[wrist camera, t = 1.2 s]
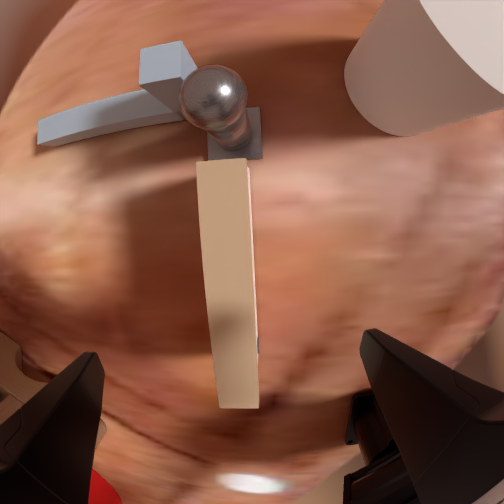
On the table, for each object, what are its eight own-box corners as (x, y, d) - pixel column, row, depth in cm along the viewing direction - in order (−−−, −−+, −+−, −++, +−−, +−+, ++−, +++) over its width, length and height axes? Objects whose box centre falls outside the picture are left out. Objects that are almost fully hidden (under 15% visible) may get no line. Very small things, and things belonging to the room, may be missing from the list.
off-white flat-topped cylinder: (455, 102, 18) (559, 64, 6) (397, 158, 19) (513, 137, 7) (388, 25, 17) (457, -59, 5) (321, 72, 18) (371, -30, 6)
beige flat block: (218, 171, 20) (195, 161, 13) (252, 169, 19) (245, 157, 13) (231, 350, 22) (219, 408, 15) (260, 350, 22) (258, 408, 15)
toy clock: (106, 505, 22) (115, 546, 26) (121, 473, 28) (124, 523, 32) (-17, 428, 22) (16, 492, 26) (4, 407, 27) (29, 474, 31)
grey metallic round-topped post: (262, 158, 20) (259, 128, 10) (209, 162, 20) (159, 138, 10) (259, 108, 19) (254, 41, 9) (207, 112, 19) (160, 53, 9)
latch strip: (211, 117, 19) (180, 77, 11) (54, 147, 20) (-14, 138, 12) (210, 90, 19) (181, 40, 11) (55, 124, 20) (-11, 109, 12)
